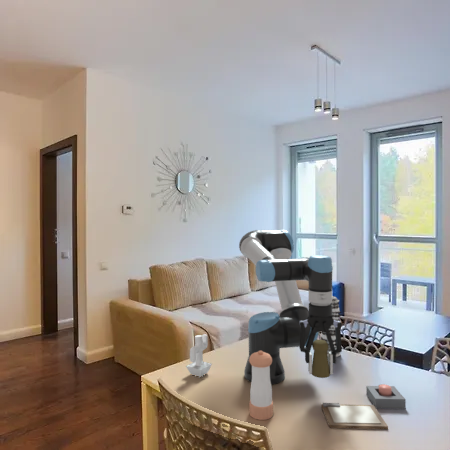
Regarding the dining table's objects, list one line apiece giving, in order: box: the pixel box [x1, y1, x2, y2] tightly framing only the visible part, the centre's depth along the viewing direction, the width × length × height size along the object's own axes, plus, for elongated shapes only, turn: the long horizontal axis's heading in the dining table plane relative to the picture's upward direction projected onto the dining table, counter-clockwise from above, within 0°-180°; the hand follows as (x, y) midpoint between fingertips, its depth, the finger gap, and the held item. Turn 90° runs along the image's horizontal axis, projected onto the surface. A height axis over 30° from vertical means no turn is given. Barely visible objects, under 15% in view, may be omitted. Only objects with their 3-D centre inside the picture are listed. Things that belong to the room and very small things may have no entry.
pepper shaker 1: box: [248, 351, 274, 421], centre depth 111 cm, size 7×7×19 cm
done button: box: [378, 383, 392, 396], centre depth 117 cm, size 4×4×2 cm
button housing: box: [365, 385, 407, 410], centre depth 117 cm, size 9×9×3 cm
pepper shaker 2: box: [311, 339, 331, 379], centre depth 120 cm, size 6×6×11 cm
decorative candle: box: [320, 295, 342, 358], centre depth 161 cm, size 9×9×25 cm
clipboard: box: [320, 402, 389, 430], centre depth 108 cm, size 16×12×1 cm
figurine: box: [185, 333, 213, 378], centre depth 141 cm, size 7×9×15 cm
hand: (320, 372), depth 120 cm, fingers closed on pepper shaker 2, 6 cm apart
